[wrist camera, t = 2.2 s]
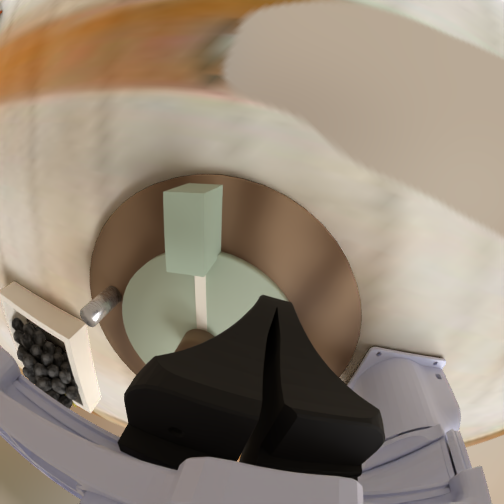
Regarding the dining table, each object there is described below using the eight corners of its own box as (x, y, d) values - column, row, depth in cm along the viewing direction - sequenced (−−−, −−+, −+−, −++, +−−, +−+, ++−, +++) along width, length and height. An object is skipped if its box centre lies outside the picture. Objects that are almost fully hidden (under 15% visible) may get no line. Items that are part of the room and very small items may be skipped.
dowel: (127, 284, 24) (95, 312, 19) (127, 300, 25) (97, 330, 20) (111, 278, 24) (79, 305, 19) (112, 294, 25) (81, 322, 20)
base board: (406, 228, 18) (441, 257, 13) (300, 429, 28) (297, 470, 22) (101, 151, 20) (51, 157, 14) (104, 364, 29) (80, 395, 24)
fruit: (-16, 347, 22) (57, 430, 24) (-3, 310, 22) (78, 405, 23) (18, 329, 31) (82, 399, 32) (35, 295, 30) (105, 372, 32)
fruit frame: (86, 322, 27) (69, 339, 24) (101, 397, 33) (90, 413, 30) (14, 281, 28) (-2, 291, 25) (34, 355, 34) (23, 367, 30)
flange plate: (285, 403, 24) (282, 434, 20) (142, 374, 26) (126, 398, 22) (321, 193, 17) (327, 204, 14) (113, 182, 19) (81, 190, 15)
